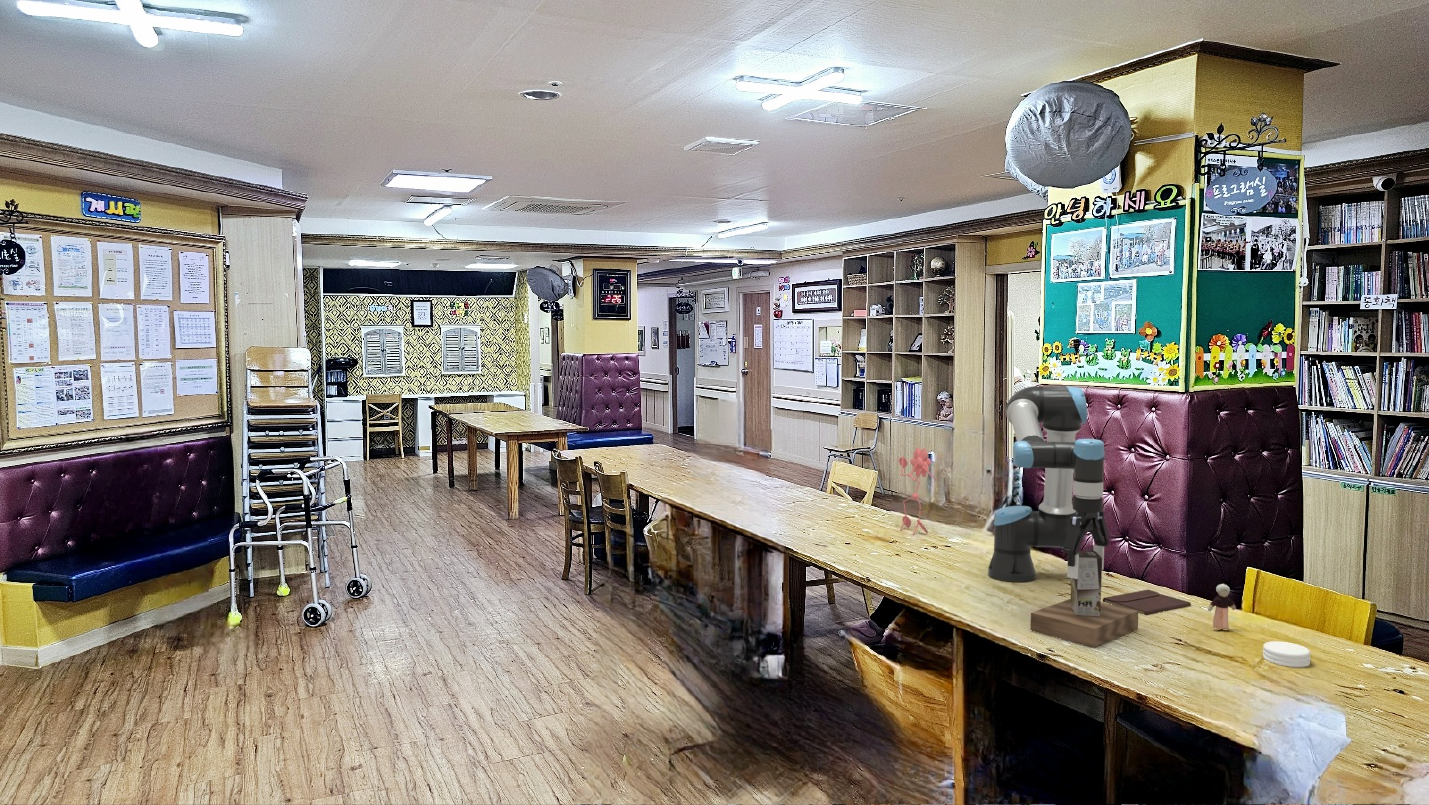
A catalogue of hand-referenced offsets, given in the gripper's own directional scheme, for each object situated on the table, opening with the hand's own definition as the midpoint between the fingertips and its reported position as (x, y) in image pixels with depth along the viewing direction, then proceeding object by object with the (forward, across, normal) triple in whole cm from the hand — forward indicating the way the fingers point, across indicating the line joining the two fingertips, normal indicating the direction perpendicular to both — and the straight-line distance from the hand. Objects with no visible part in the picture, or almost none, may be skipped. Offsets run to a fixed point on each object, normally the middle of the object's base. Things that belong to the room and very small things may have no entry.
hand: (1085, 573), depth 247 cm
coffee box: (+11, 0, 0) cm, 11 cm away
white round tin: (+16, -16, +44) cm, 50 cm away
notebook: (+17, -37, 0) cm, 40 cm away
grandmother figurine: (+16, -29, +24) cm, 41 cm away
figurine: (+18, -68, -108) cm, 128 cm away
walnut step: (+16, 0, 0) cm, 16 cm away
